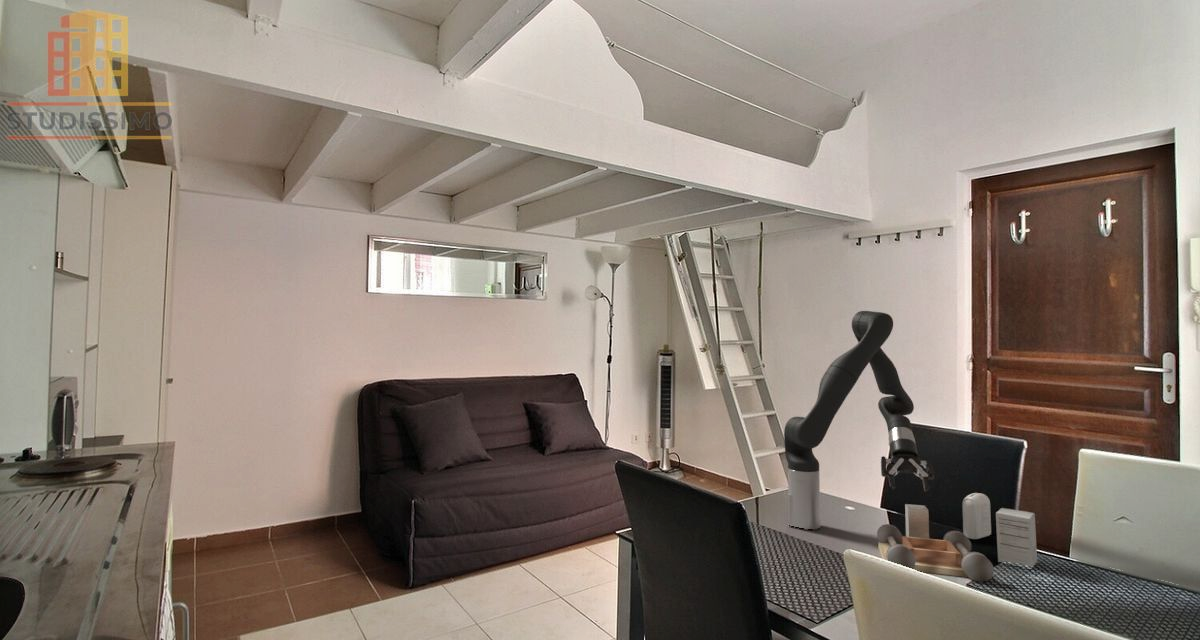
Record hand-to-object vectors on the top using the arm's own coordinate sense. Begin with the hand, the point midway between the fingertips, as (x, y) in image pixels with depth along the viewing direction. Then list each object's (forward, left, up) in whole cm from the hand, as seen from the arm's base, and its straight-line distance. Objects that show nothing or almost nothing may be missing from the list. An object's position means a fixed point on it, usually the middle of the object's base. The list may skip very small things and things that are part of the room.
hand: (910, 488), depth 170 cm
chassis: (0, -27, -13) cm, 30 cm away
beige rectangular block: (0, -10, -13) cm, 16 cm away
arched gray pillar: (+18, +4, -13) cm, 23 cm away
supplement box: (+21, -19, -13) cm, 31 cm away
